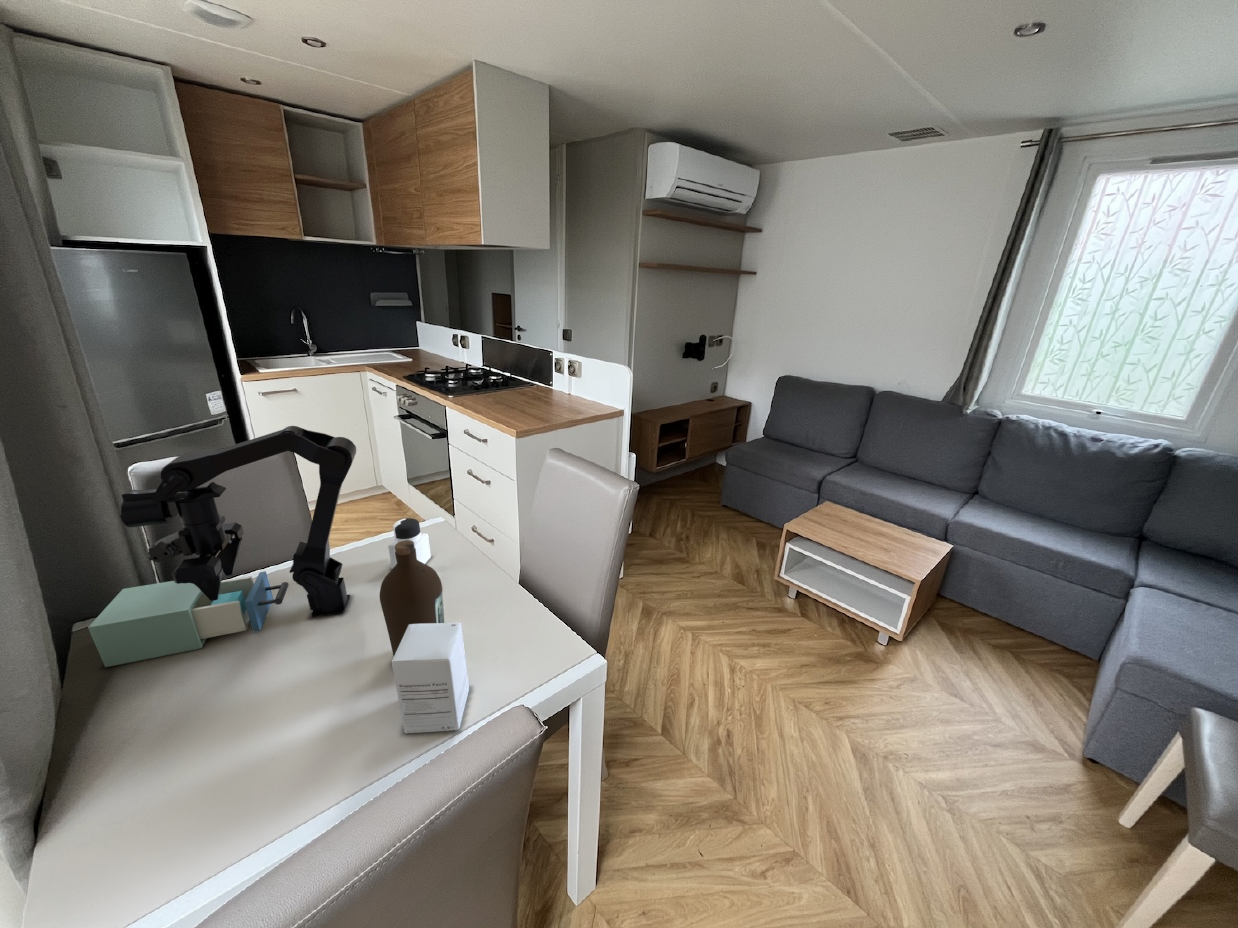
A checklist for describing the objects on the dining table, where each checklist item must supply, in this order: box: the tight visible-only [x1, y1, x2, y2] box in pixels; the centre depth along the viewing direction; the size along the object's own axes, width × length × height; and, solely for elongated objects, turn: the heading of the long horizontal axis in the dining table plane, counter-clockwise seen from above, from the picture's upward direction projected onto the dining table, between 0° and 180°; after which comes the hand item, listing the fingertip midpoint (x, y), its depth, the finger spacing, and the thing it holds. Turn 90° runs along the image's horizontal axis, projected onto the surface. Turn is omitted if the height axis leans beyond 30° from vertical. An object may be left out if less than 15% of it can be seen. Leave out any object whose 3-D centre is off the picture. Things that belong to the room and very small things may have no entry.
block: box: [211, 591, 247, 615], centre depth 102 cm, size 4×4×4 cm
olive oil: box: [379, 540, 445, 658], centre depth 91 cm, size 11×11×25 cm
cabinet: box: [87, 580, 208, 668], centre depth 98 cm, size 15×13×9 cm
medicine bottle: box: [387, 517, 432, 570], centre depth 125 cm, size 7×7×12 cm
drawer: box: [191, 570, 290, 639], centre depth 102 cm, size 18×11×7 cm, turn 112°
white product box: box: [391, 621, 470, 734], centre depth 81 cm, size 9×9×15 cm
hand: (222, 587), depth 100 cm, fingers open, 9 cm apart
